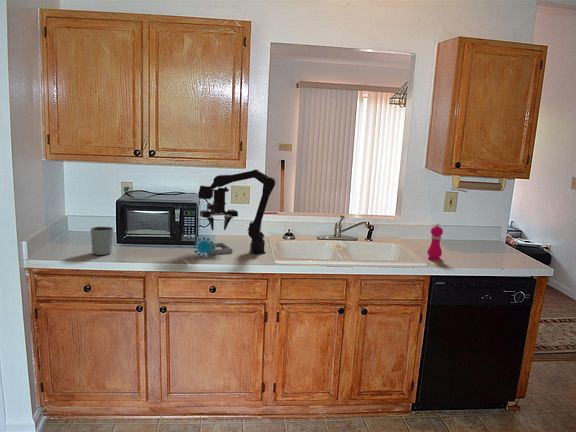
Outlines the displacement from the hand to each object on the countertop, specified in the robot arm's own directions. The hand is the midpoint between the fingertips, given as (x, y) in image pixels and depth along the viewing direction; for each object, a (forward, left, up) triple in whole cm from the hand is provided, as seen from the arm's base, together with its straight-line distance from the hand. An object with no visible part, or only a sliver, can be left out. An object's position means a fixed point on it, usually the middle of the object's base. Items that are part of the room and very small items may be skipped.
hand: (218, 230), depth 247 cm
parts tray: (0, 0, -11) cm, 11 cm away
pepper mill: (-102, +48, -11) cm, 113 cm away
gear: (+10, +10, -12) cm, 18 cm away
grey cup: (+55, -10, -11) cm, 57 cm away
